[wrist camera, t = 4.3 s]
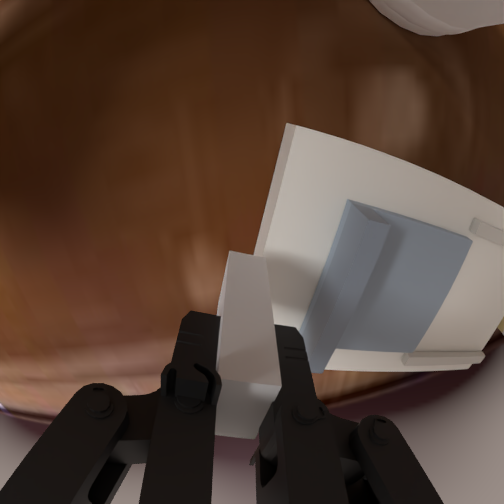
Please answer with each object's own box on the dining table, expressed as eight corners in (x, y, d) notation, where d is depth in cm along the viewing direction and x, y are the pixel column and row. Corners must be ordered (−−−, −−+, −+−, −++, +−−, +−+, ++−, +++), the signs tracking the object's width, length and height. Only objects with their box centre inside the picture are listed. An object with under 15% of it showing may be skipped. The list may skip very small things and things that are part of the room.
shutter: (296, 337, 16) (303, 372, 14) (347, 199, 13) (368, 219, 10) (409, 346, 17) (424, 374, 15) (466, 236, 14) (494, 258, 11)
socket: (235, 327, 20) (234, 368, 16) (286, 122, 14) (299, 126, 11) (453, 346, 22) (471, 374, 19) (520, 217, 16) (550, 236, 13)
